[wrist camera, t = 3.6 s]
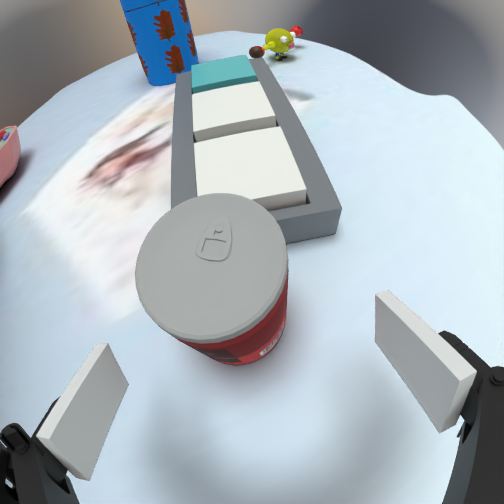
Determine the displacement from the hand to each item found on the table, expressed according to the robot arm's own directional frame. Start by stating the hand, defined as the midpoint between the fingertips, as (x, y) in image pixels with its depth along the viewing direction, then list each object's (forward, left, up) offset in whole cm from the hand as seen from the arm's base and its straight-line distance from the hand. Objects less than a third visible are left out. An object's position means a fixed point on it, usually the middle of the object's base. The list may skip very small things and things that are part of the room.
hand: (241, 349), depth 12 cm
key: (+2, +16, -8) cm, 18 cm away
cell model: (-46, +37, -10) cm, 60 cm away
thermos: (-7, +53, -10) cm, 55 cm away
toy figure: (+14, +50, -10) cm, 53 cm away
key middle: (+2, +26, -8) cm, 27 cm away
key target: (+2, +37, -8) cm, 38 cm away
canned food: (-1, +4, -10) cm, 11 cm away
